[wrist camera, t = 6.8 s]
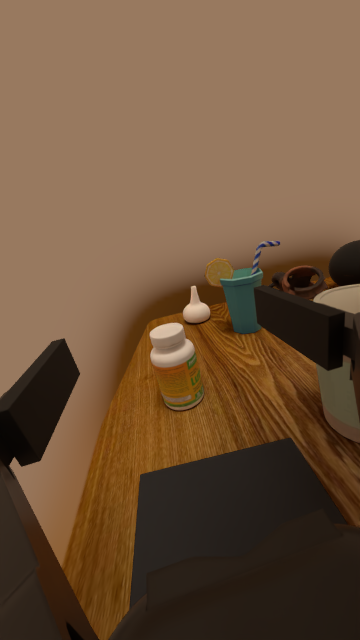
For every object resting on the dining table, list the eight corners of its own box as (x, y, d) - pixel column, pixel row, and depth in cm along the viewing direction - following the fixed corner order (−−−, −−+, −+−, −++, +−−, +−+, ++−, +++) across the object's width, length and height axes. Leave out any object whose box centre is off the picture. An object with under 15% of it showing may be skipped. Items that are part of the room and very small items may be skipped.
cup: (272, 310, 48) (266, 238, 42) (297, 322, 40) (293, 236, 35) (210, 329, 46) (196, 256, 41) (225, 345, 39) (210, 258, 33)
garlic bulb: (183, 318, 56) (176, 287, 53) (208, 312, 55) (202, 281, 53) (186, 327, 50) (177, 293, 47) (213, 321, 50) (207, 286, 47)
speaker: (319, 287, 54) (319, 244, 51) (364, 278, 53) (367, 234, 49) (345, 298, 45) (347, 248, 41) (400, 288, 44) (407, 235, 40)
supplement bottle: (204, 409, 26) (187, 336, 23) (160, 414, 27) (137, 344, 24) (204, 380, 31) (190, 317, 28) (167, 385, 32) (149, 324, 29)
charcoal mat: (141, 478, 20) (140, 474, 20) (291, 441, 20) (290, 436, 20) (102, 1017, 6) (94, 1023, 6) (585, 896, 6) (593, 896, 6)
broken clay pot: (332, 293, 50) (337, 266, 44) (311, 324, 48) (313, 300, 42) (281, 279, 58) (279, 254, 52) (261, 306, 56) (256, 283, 50)
